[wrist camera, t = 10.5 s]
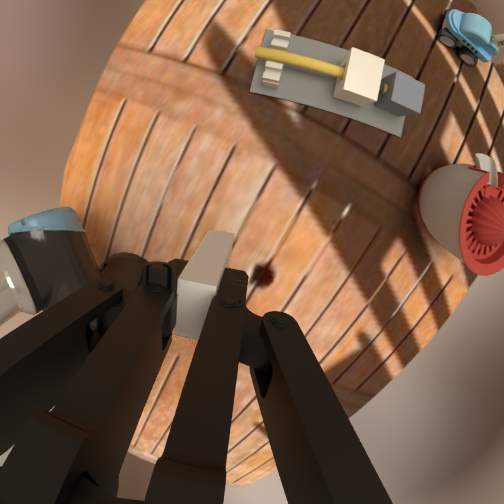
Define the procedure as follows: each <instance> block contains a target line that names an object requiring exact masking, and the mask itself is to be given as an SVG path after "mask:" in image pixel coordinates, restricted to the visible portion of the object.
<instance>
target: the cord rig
mask: <svg viewBox="0 0 504 504" xmlns="http://www.w3.org/2000/svg"><path fill="white" fill-rule="evenodd" d="M347 53H348V50H345V49H342V48H339V47H336V46H333V45H329V44H326V43H322V42H319V41H315V40H312V39H308V38H304V37H300V36H295V35H291V33H290V32H285V31H280V30H275V31H271V30H266V31H265V35H264V39H263V42H262V46H261V47H259V46H258V47H257V49H256V54H255V57H258V61H257V65H256V69H255V73H254V77H253V81H252V85H251V89H250V92H251V93H256V94H261V95H266V96H271V97H275V98H280V99H284V100H288V101H292V102H296V103H300V104H304V105H307V106H311V107H315V108H318V109H322V110H325V111H328V112H331V113H335V114H338V115H341V116H344V117H347V118H350V119H353V120H356V121H359V122H361V123H364V124H367V125H370V126H372V127H375V128H378V129H380V130H383V131H385V132H388V133H390V134H393V135H395V136H397V137H401V133H402V129H403V124H404V120H405V116H407V115H414V114H420V112H421V106H422V101H423V95H424V89H425V84H423V83H421V82H419V81H417V80H415V79H413V78H412V77H411V76H409V75H407V74H405V73H403V72H401V71H399V70H396V69H394V68H392V67H390V66H387V65H385V64H384V66H383V72H382V77H381V83H380V88H379V93H378V98H377V101H376V102H373V103H370V104H368V105H365V106H363V107H361V106H359V105H356V104H353V103H350V102H347V101H344V100H341V99H338V98H335V97H333V95H334V90H335V86H336V81H337V77H338V78H341V79H343V76H344V71H345V68H343V67H340V63H341V60H342V58H343V57H344V56H345V55H346V54H347Z"/></svg>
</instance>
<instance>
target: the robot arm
mask: <svg viewBox="0 0 504 504" xmlns="http://www.w3.org/2000/svg"><path fill="white" fill-rule="evenodd" d="M85 233H86V231H85V230H84V229H83V227H82V225H81V222H80V220H79V217H78V215H77V213H76V211H75V210H74V209H72V208H70V207H60V208H55V209H51V210H47V211H43V212H40V213H37V214H34V215H31V216H28V217H27V218H24V219H21V220H18V221H16V222H14V223H12V224H11V225H9V227H8V234H9V235H10V236H9V237H7V238H5V239H3V240H1V241H0V326H1V325H2V324H3V323H5V322H6V321H8V320H9V319H11V318H12V317H13V316H15V315H16V314H18V313H19V312H25V313H28V314H32V315H35V314H37V313H38V312H40V311H41V310H43V312H41V313H40V314H38V315H37V316H35V317H33V318H32V319H30V320H29V321H27V322H25V323H24V324H22V325H21V326H19V327H18V328H16V329H15V330H13V331H11V332H10V333H8V334H7V335H5V336H4V337H2V338H1V339H0V456H1V455H2V454H4V453H5V452H6V451H7V450H8V449H10V448H11V447H12V446H13V445H14V444H15V445H14V447H13V448H12V450H11V452H10V453H9V455H8V457H7V459H6V460H5V462H4V464H3V466H1V467H0V504H223V501H224V492H225V484H226V460H227V452H228V444H229V436H230V428H231V420H232V412H233V404H234V396H235V388H236V380H237V372H238V364H239V362H240V363H243V364H245V365H248V366H250V374H251V378H252V382H253V385H254V389H255V393H256V396H257V400H258V404H259V407H260V411H261V414H262V418H263V421H264V425H265V428H266V432H267V435H268V439H269V442H270V446H271V449H272V453H273V456H274V459H275V463H276V466H277V469H278V472H279V476H280V479H281V482H282V485H283V489H284V492H285V495H286V498H287V501H288V504H393V503H392V501H391V499H390V497H389V495H388V494H387V492H386V490H385V488H384V486H383V484H382V482H381V480H380V478H379V476H378V474H377V473H376V471H375V469H374V467H373V465H372V463H371V461H370V459H369V457H368V455H367V453H366V451H365V449H364V447H363V446H362V444H361V442H360V440H359V438H358V436H357V434H356V432H355V431H354V428H353V426H352V425H351V423H350V421H349V419H348V417H347V415H346V413H345V411H344V409H343V408H342V406H341V404H340V402H339V400H338V398H337V396H336V394H335V392H334V391H333V389H332V387H331V385H330V383H329V381H328V379H327V377H326V375H325V374H324V372H323V370H322V368H321V366H320V364H319V362H318V360H317V359H316V357H315V355H314V353H313V351H312V349H311V347H310V345H309V344H308V342H307V340H306V338H305V336H304V334H303V332H302V330H301V329H300V327H299V325H298V323H297V321H296V320H295V319H294V318H293V317H292V316H290V315H289V314H286V313H284V312H278V311H272V312H268V313H265V314H264V316H263V317H261V316H258V315H256V314H254V313H252V312H251V311H249V310H248V309H247V307H246V304H245V301H246V293H247V285H248V277H249V276H248V275H247V274H246V272H245V271H241V270H236V269H231V268H229V263H230V257H231V251H232V245H233V239H234V234H233V233H227V232H222V231H217V230H211V229H209V230H208V232H207V233H206V235H205V237H204V238H203V240H202V241H201V243H200V244H199V246H198V247H197V249H196V251H195V252H194V254H193V255H192V257H191V258H190V260H189V261H185V260H180V259H174V260H172V261H169V262H168V263H165V262H158V261H157V262H147V261H146V260H145V259H143V258H141V257H139V256H137V255H134V254H131V253H118V254H115V255H113V256H111V257H110V258H109V259H107V260H106V261H105V262H104V263H103V264H102V265H101V267H100V268H98V266H97V263H96V261H95V258H94V256H93V253H92V251H91V248H90V245H89V243H88V240H87V237H86V234H85ZM174 327H175V335H178V336H182V337H187V338H191V339H196V340H198V343H197V346H196V349H195V352H194V355H193V358H192V361H191V364H190V367H189V371H188V374H187V377H186V380H185V383H184V386H183V390H182V393H181V396H180V399H179V403H178V406H177V409H176V412H175V416H174V419H173V422H172V425H171V429H170V432H169V435H168V439H167V442H166V446H165V449H164V452H163V454H162V456H161V457H160V458H158V460H157V462H156V464H155V467H154V470H153V473H152V477H151V480H150V483H149V486H148V490H147V493H146V497H145V500H144V501H139V500H131V499H123V498H117V497H116V496H117V493H118V487H119V485H118V484H119V479H118V478H119V473H120V470H121V467H122V464H123V461H124V459H125V456H126V453H127V451H128V448H129V445H130V443H131V440H132V438H133V435H134V432H135V430H136V427H137V425H138V422H139V419H140V417H141V414H142V412H143V409H144V407H145V404H146V402H147V399H148V397H149V394H150V392H151V390H152V387H153V385H154V382H155V380H156V377H157V375H158V373H159V370H160V368H161V365H162V363H163V361H164V358H165V356H166V354H167V351H168V349H169V347H170V344H171V342H172V331H173V329H174ZM54 406H55V407H54ZM53 407H54V408H53ZM52 408H53V409H52ZM50 409H52V411H50ZM49 411H50V412H49Z"/></svg>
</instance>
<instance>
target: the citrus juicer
mask: <svg viewBox="0 0 504 504" xmlns="http://www.w3.org/2000/svg"><path fill="white" fill-rule="evenodd" d="M475 160H476V165H475V166H474V165H469V164H451V165H447V166H443V167H439V168H438V169H436V170H434V171H432V172H431V173H430V174H429V175H428V176H427V177H426V178H425V179H424V181H423V183H422V185H421V187H420V190H419V195H418V208H419V212H420V215H421V218H422V221H423V223H424V225H425V226H426V228H427V229H428V230H429V232H430V233H431V235H432V236H433V237H434V238H435V239H436V241H437V242H438V243H439V244H440V245H442V246H443V247H444V248H445V249H447V250H448V251H449V252H451V253H452V254H453V255H455V256H456V257H457V258H459V259H460V260H461V261H463V262H464V263H465V264H466V266H467V267H468V268H469V270H471V271H472V272H473V273H475V274H478V275H483V276H488V275H491V274H494V273H496V272H498V271H500V270H501V269H502V268H504V173H501V172H497V168H496V163H495V161H494V160H493V159H492V158H490V157H488V156H487V155H484V154H475Z"/></svg>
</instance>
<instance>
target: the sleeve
mask: <svg viewBox="0 0 504 504" xmlns="http://www.w3.org/2000/svg"><path fill="white" fill-rule="evenodd" d="M384 61H385V60H384V59H382V58H379V57H377V56H374V55H372V54H369V53H367V52H364V51H361V50H359V49H356V48H353V47H352V48H351V49H350V50H349V51H348V53H347V54H346V55H345V56H344V57H343V58H342V60H341V63H340V67H343V68H345V71H344V76H343V79H341V78H338V77H337V81H336V86H335V90H334V95H333V97H335V98H338V99H341V100H344V101H347V102H350V103H353V104H356V105H359V106H361V107H363V106H365V105H368V104H370V103H373V102H376V101H377V98H378V93H379V88H380V83H381V77H382V72H383V66H384Z"/></svg>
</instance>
